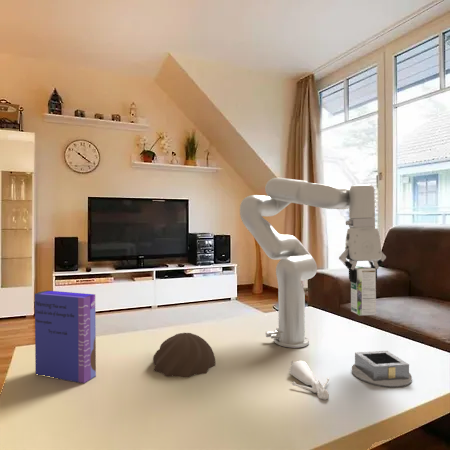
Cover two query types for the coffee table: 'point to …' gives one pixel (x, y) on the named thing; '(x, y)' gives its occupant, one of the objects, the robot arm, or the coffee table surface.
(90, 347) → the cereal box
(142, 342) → the coffee table surface
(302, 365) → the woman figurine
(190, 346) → the decorative dome
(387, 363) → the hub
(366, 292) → the syrup box
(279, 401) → the coffee table surface
